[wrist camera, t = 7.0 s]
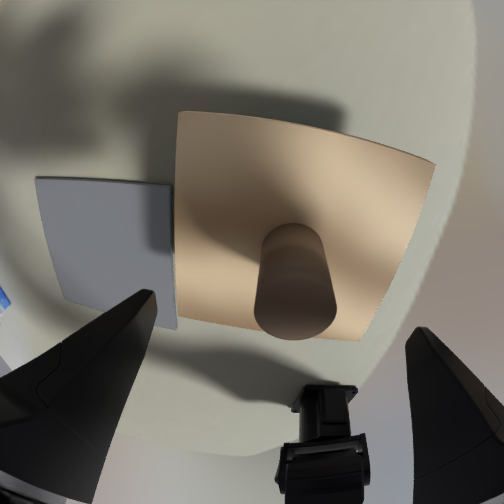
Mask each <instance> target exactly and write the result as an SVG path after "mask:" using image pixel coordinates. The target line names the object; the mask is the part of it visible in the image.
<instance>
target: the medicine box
mask: <svg viewBox="0 0 504 504" xmlns="http://www.w3.org/2000/svg"><path fill="white" fill-rule="evenodd" d="M10 305H11V302H10V300H9V299H8V297H7V296H6V294H5V293H4V291H3V290H2V288H1V286H0V317H1V316H2V314H3V313H4V312H5V311H6V310H7V309H8V307H9V306H10Z"/></svg>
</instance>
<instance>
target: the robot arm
mask: <svg viewBox="0 0 504 504" xmlns="http://www.w3.org/2000/svg"><path fill="white" fill-rule="evenodd" d="M157 312H158V308H157V301H156V294H155V292H154V291H153V290H149V289H141V290H139V291H138V292H136V293H134V294H133V295H131V296H130V297H128V298H127V299H125V300H123V301H122V302H120V303H119V304H117V305H116V306H114V307H113V308H111V309H110V310H108V311H106V312H105V313H103V314H102V315H100V316H99V317H97V318H96V319H94V320H93V321H91V322H90V323H88V324H87V325H85V326H84V327H82V328H81V329H79V330H78V331H76V332H75V333H73V334H72V335H70V336H69V337H67V338H66V339H64V340H63V341H62V343H61V342H60V343H58V344H57V345H55V346H54V347H52V348H51V349H49V350H48V351H46V352H45V353H43V354H41V355H40V356H38V357H37V358H35V359H33V360H31V361H30V362H28V363H26V364H24V365H22V366H21V367H19V368H17V369H15V370H13V371H12V372H10V373H8V374H7V375H4V376H3V377H1V378H0V504H65V503H66V500H67V498H69V499H73V500H76V501H80V502H84V503H87V504H92V501H93V498H94V494H95V491H96V487H97V484H98V481H99V478H100V475H101V471H102V468H103V465H104V462H105V459H106V456H107V453H108V449H109V447H110V444H111V441H112V438H113V436H114V433H115V430H116V427H117V425H118V422H119V419H120V416H121V414H122V411H123V408H124V406H125V403H126V401H127V398H128V396H129V393H130V391H131V388H132V386H133V383H134V381H135V378H136V376H137V373H138V371H139V368H140V366H141V364H142V361H143V359H144V356H145V353H146V350H147V347H148V343H149V340H150V337H151V333H152V330H153V327H154V323H155V320H156V317H157ZM405 352H406V365H407V383H408V391H409V400H410V408H411V419H412V431H413V449H414V490H413V504H504V406H503V405H502V404H501V403H500V402H499V401H498V400H497V399H496V398H495V396H494V395H493V394H492V393H491V392H490V391H489V390H488V389H487V388H486V387H484V384H483V383H482V382H481V381H480V380H479V379H478V378H477V377H476V376H475V375H474V374H473V373H472V372H471V371H470V370H469V368H467V366H465V364H464V363H463V362H462V361H461V360H460V359H459V358H458V357H457V356H456V355H455V354H454V353H453V352H452V351H451V350H450V349H449V348H448V347H447V346H446V345H445V344H444V343H443V342H442V341H441V340H440V339H438V337H437V336H436V335H435V334H434V333H433V332H431V331H430V330H429V329H428V328H427V327H417V328H415V330H414V331H413V333H412V334H411V336H410V337H409V338H408V340H407V341H406V345H405ZM357 393H358V388H355V387H322V386H305V387H303V389H302V391H301V393H300V394H299V396H298V398H297V399H296V401H295V403H294V405H293V406H292V408H291V412H293V413H300V419H299V443H284V447H281V451H280V461H279V465H278V469H277V472H276V476H275V482H276V483H277V484H278V485H279V489H280V493H281V494H285V504H362V503H363V501H364V486H367V485H369V484H370V461H369V455H368V448H367V442H366V437H365V433H362V434H360V435H355V436H351V430H350V419H349V410H348V403H349V402H350V401H351V400H352V399H353V398H354V396H355V395H356V394H357ZM356 450H358V452H356Z"/></svg>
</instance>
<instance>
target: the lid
mask: <svg viewBox="0 0 504 504" xmlns="http://www.w3.org/2000/svg"><path fill="white" fill-rule="evenodd" d="M435 165H436V164H434V163H432V162H430V161H428V160H426V159H424V158H421V157H418V156H416V155H413V154H410V153H407V152H404V151H402V150H399V149H396V148H393V147H389V146H386V145H383V144H380V143H377V142H373V141H370V140H366V139H363V138H359V137H355V136H352V135H348V134H344V133H340V132H336V131H331V130H327V129H322V128H318V127H313V126H308V125H303V124H298V123H292V122H287V121H281V120H274V119H268V118H261V117H253V116H245V115H236V114H225V113H213V112H198V111H183V112H178V125H177V140H176V160H175V195H174V234H175V269H176V290H177V305H178V316H181V317H186V318H191V319H196V320H201V321H206V322H211V323H216V324H222V325H228V326H234V327H240V328H246V329H252V330H259V331H265V332H266V333H268V334H270V335H272V336H274V337H276V338H280V339H285V340H303V339H308V338H311V337H314V338H323V339H334V340H346V341H359V342H360V340H361V338H362V337H363V335H364V333H365V331H366V330H367V328H368V326H369V324H370V323H371V321H372V319H373V317H374V315H375V313H376V312H377V310H378V308H379V306H380V304H381V302H382V300H383V298H384V296H385V294H386V292H387V290H388V288H389V286H390V284H391V282H392V280H393V278H394V276H395V273H396V271H397V269H398V267H399V265H400V262H401V260H402V258H403V256H404V253H405V251H406V249H407V246H408V244H409V241H410V239H411V236H412V234H413V231H414V229H415V226H416V223H417V221H418V218H419V215H420V213H421V210H422V207H423V204H424V201H425V198H426V195H427V192H428V189H429V186H430V182H431V179H432V176H433V172H434V169H435Z"/></svg>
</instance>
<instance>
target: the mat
mask: <svg viewBox="0 0 504 504" xmlns="http://www.w3.org/2000/svg"><path fill="white" fill-rule="evenodd" d="M35 186H36V193H37V199H38V204H39V210H40V215H41V220H42V224H43V229H44V233H45V237H46V241H47V245H48V249H49V252H50V256H51V259H52V263H53V266H54V269H55V272H56V276H57V279H58V282H59V285H60V287H61V290H62V293H63V296H64V298H65V299H66V300H69V301H72V302H75V303H78V304H81V305H84V306H87V307H90V308H93V309H96V310H100V311H103V312H106V311H108V310H110V309H111V308H113V307H114V306H116V305H117V304H119V303H120V302H122V301H123V300H125V299H127V298H128V297H130V296H131V295H133V294H134V293H136V292H138V291H139V290H141V289H149V290H153V291H154V292H155V294H156V301H157V308H158V312H157V317H156V320H155V323H154V325H155V326H159V327H163V328H167V329H172V330H176V329H177V318H176V306H175V292H174V276H173V255H172V186H169V185H159V184H149V183H137V182H125V181H110V180H94V179H73V178H36V179H35Z"/></svg>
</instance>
